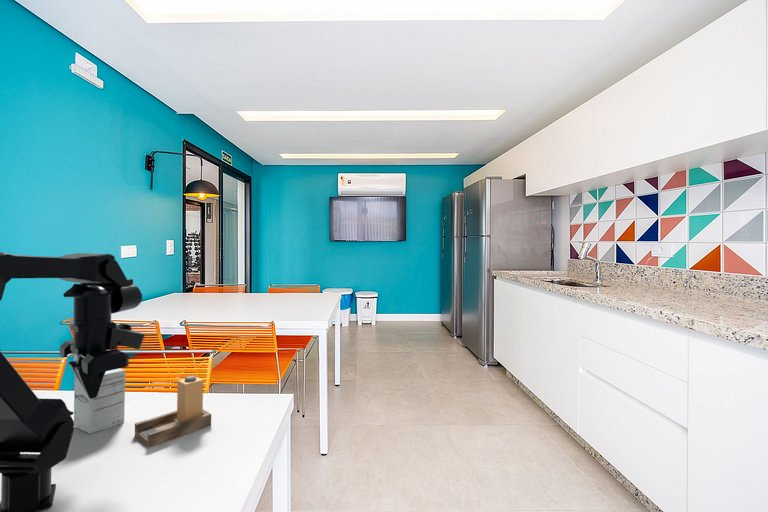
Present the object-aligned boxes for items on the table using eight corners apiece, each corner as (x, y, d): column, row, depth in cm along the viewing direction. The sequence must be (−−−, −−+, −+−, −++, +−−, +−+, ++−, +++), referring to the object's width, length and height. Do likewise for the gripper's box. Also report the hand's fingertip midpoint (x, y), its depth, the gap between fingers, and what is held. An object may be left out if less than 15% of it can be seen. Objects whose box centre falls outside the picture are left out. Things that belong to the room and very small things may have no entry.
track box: (149, 448, 75) (149, 435, 75) (134, 435, 80) (134, 423, 80) (211, 425, 86) (211, 414, 86) (194, 415, 91) (194, 404, 91)
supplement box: (72, 427, 84) (73, 372, 83) (109, 414, 90) (109, 363, 90) (88, 435, 80) (89, 378, 80) (125, 421, 87) (126, 368, 87)
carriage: (184, 423, 83) (185, 381, 83) (176, 418, 85) (177, 377, 85) (202, 417, 86) (203, 377, 86) (194, 412, 89) (195, 373, 89)
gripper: (159, 318, 72) (158, 396, 72) (123, 307, 83) (122, 376, 83) (88, 327, 63) (88, 417, 63) (58, 314, 74) (58, 390, 74)
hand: (92, 397), depth 71 cm, fingers closed
